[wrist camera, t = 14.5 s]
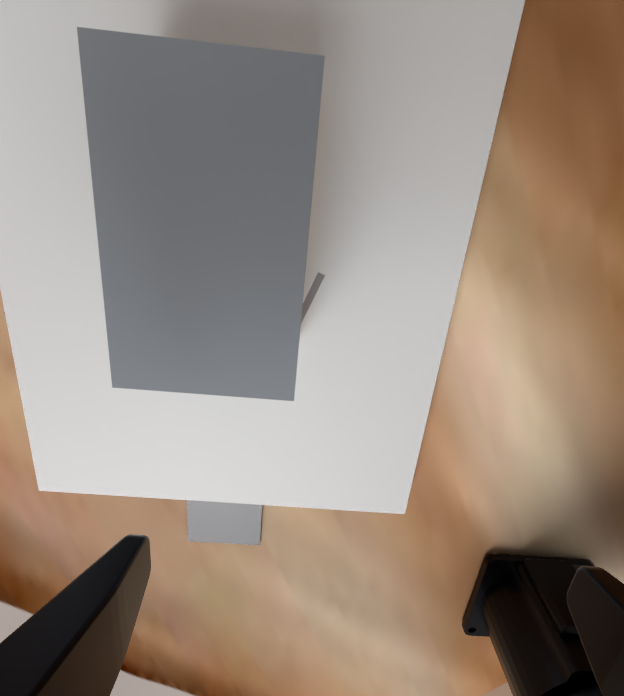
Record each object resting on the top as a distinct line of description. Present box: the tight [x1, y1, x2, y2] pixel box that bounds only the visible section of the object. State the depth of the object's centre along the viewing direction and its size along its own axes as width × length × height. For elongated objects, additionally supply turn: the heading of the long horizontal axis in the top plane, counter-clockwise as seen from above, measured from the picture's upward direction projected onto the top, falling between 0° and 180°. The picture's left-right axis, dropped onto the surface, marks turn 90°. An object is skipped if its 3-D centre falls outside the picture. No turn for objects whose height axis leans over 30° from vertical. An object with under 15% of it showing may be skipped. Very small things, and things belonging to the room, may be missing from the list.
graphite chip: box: [187, 500, 262, 545], centre depth 23 cm, size 4×4×1 cm
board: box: [0, 0, 525, 514], centre depth 17 cm, size 22×18×2 cm
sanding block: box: [77, 27, 325, 401], centre depth 13 cm, size 9×6×5 cm, turn 175°
